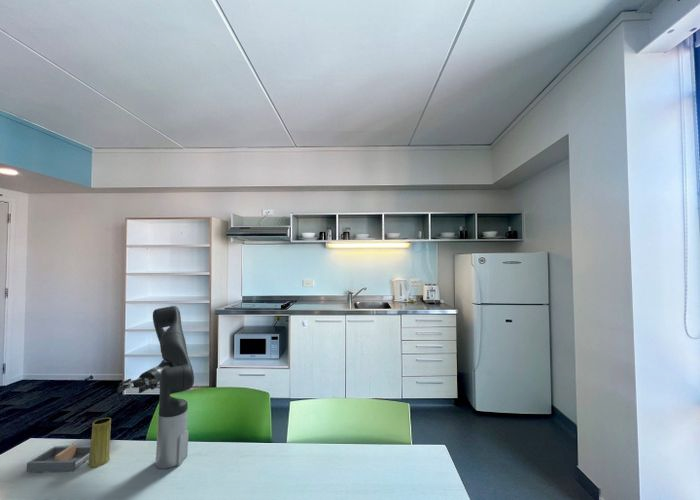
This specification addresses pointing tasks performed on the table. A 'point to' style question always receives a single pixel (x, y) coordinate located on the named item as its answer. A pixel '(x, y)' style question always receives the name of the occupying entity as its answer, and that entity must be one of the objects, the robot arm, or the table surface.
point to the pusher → (66, 453)
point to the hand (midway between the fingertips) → (128, 390)
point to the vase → (100, 442)
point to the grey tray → (49, 464)
